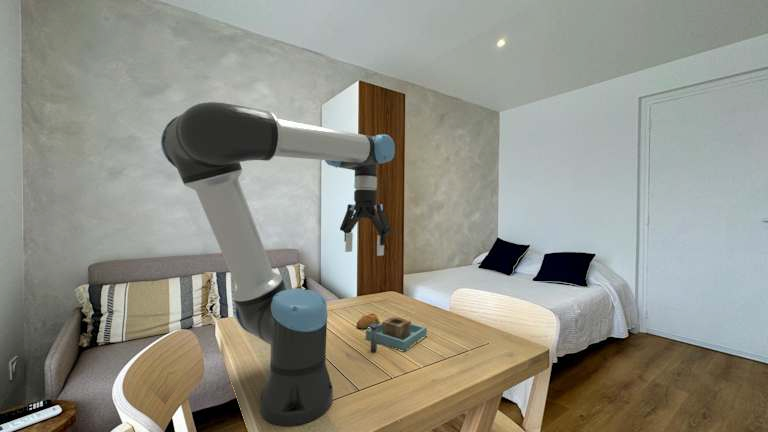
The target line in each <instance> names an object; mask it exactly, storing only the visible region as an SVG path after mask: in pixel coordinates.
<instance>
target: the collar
mask: <svg viewBox="0 0 768 432" xmlns="http://www.w3.org/2000/svg"><path fill="white" fill-rule="evenodd" d="M381 323H382V334H385V335H388V336H391V337H394V338H398V339H401V340H404V339H406V338H407V337H409V336H410V335H411V324H412V320H409V319H405V318H401V317H397V316H392V317H390V318H388V319H386V320H383V321H382V322H381Z"/></svg>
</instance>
